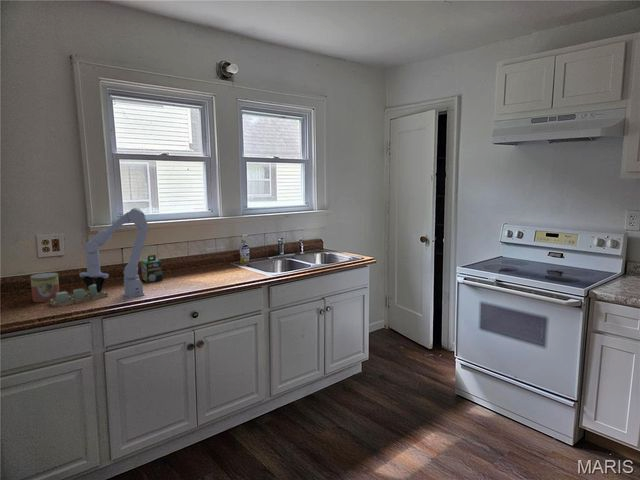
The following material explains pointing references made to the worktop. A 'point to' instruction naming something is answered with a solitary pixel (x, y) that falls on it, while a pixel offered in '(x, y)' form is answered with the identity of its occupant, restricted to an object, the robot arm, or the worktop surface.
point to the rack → (78, 299)
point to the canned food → (44, 286)
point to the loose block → (93, 290)
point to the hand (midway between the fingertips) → (95, 291)
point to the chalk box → (151, 269)
